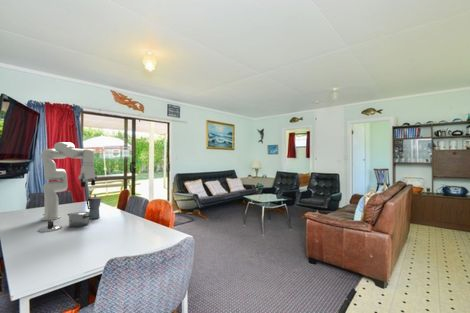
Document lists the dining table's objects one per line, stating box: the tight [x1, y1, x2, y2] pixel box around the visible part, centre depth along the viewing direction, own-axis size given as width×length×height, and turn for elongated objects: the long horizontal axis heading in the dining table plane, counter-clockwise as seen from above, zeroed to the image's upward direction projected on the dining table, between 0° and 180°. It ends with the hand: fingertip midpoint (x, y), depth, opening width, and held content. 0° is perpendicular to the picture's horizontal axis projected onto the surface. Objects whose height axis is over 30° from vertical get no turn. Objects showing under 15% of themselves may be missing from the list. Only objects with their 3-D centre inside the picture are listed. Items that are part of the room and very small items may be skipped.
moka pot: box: [86, 194, 102, 220], centre depth 200 cm, size 10×15×20 cm, turn 174°
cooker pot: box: [67, 211, 91, 229], centre depth 179 cm, size 21×13×9 cm, turn 72°
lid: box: [37, 219, 63, 233], centre depth 169 cm, size 14×14×6 cm
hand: (88, 186), depth 182 cm, fingers open, 9 cm apart
